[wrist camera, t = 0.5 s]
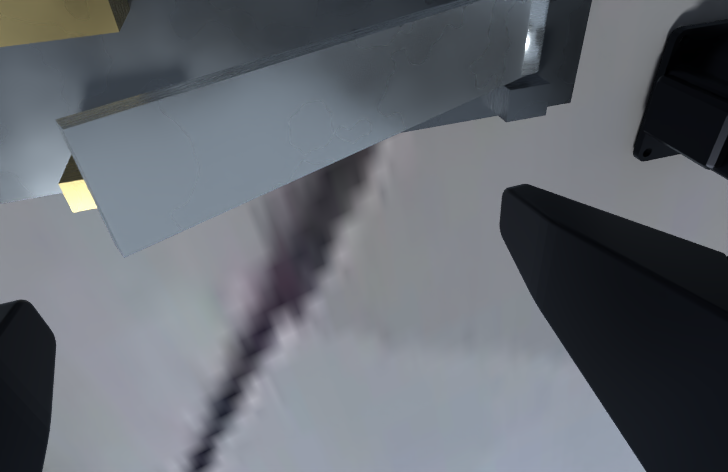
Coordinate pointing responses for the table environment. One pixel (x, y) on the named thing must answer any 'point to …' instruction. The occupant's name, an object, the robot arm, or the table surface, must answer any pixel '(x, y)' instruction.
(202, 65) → the cooler plate
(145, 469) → the table surface
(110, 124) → the strap
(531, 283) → the robot arm
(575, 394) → the table surface
